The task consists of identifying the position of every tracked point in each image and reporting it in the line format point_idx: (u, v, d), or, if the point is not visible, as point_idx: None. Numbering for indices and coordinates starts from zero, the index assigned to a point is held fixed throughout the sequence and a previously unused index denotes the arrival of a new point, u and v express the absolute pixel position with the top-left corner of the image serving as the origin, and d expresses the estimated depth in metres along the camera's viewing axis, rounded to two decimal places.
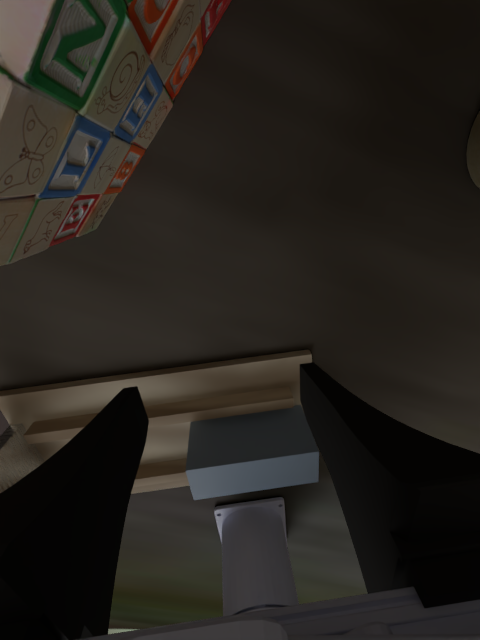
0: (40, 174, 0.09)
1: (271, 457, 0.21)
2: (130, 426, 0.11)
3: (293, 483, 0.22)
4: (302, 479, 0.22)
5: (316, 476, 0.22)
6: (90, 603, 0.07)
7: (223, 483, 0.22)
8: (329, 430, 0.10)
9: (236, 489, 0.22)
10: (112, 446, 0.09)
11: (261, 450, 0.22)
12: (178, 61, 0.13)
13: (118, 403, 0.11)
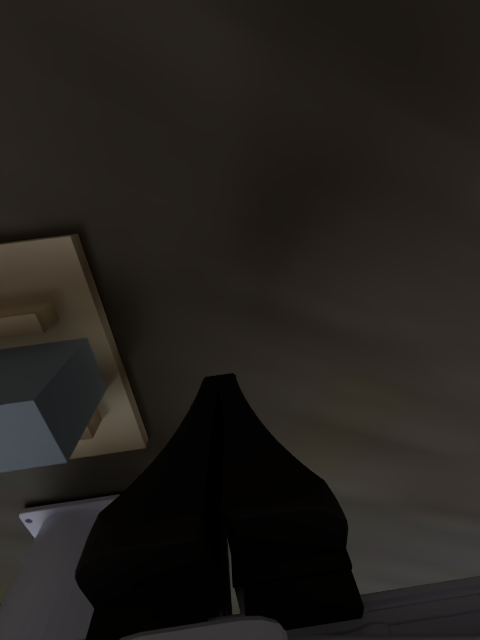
0: None
1: None
2: (220, 414, 0.11)
3: (18, 465, 0.12)
4: (32, 458, 0.12)
5: (57, 452, 0.12)
6: (224, 582, 0.07)
7: None
8: None
9: None
10: (216, 431, 0.10)
11: None
12: None
13: (210, 390, 0.11)
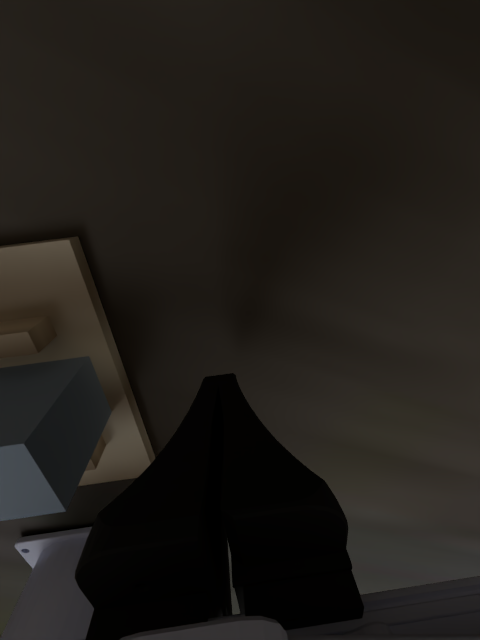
0: None
1: None
2: (220, 414, 0.11)
3: (7, 515, 0.10)
4: (23, 507, 0.10)
5: (53, 500, 0.10)
6: (224, 582, 0.07)
7: None
8: None
9: None
10: (216, 432, 0.10)
11: None
12: None
13: (210, 390, 0.11)
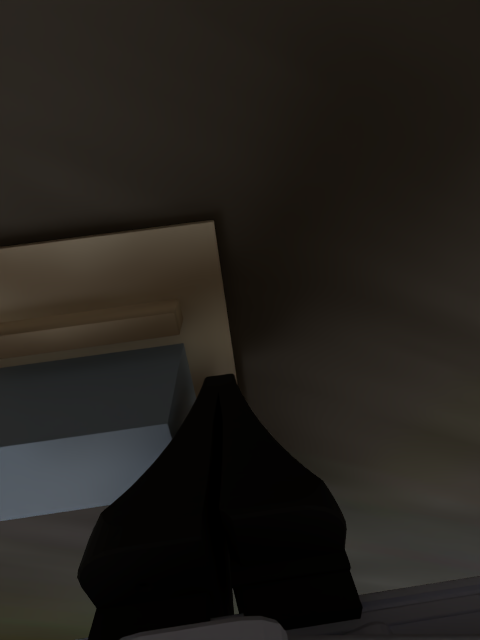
0: None
1: (54, 436, 0.09)
2: (221, 413, 0.11)
3: None
4: None
5: None
6: (226, 582, 0.07)
7: None
8: None
9: (2, 511, 0.10)
10: (217, 431, 0.10)
11: (44, 423, 0.09)
12: None
13: (212, 390, 0.11)
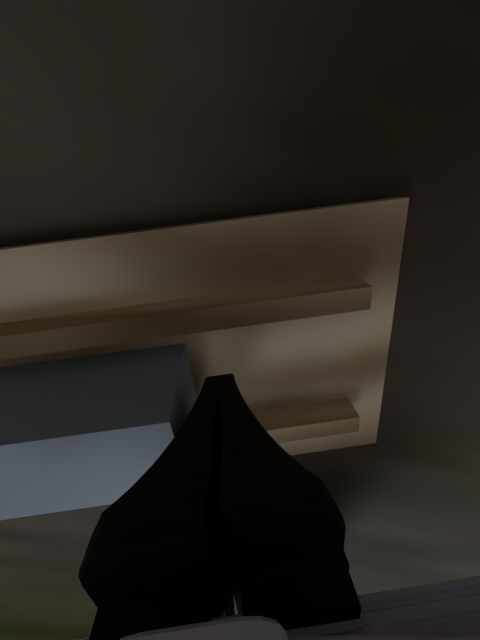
0: None
1: (56, 435, 0.09)
2: None
3: None
4: None
5: None
6: (227, 582, 0.07)
7: None
8: None
9: (3, 509, 0.10)
10: (218, 431, 0.10)
11: (46, 422, 0.09)
12: None
13: (212, 390, 0.11)
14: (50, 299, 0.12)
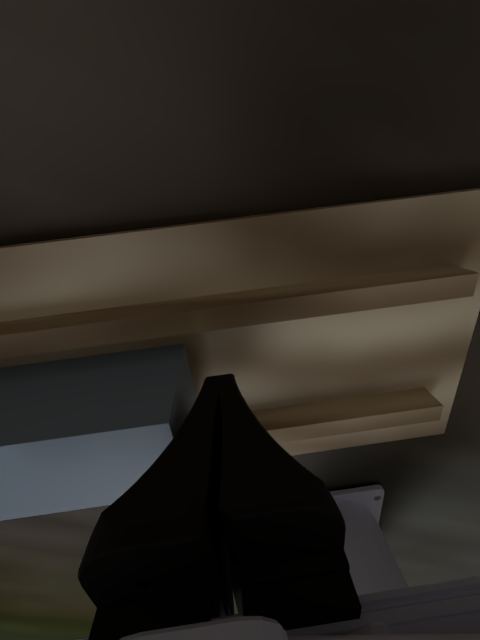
0: None
1: (55, 436, 0.09)
2: None
3: None
4: None
5: None
6: (227, 582, 0.07)
7: None
8: None
9: (3, 510, 0.10)
10: (217, 431, 0.10)
11: (45, 423, 0.09)
12: None
13: (212, 390, 0.11)
14: (153, 285, 0.12)
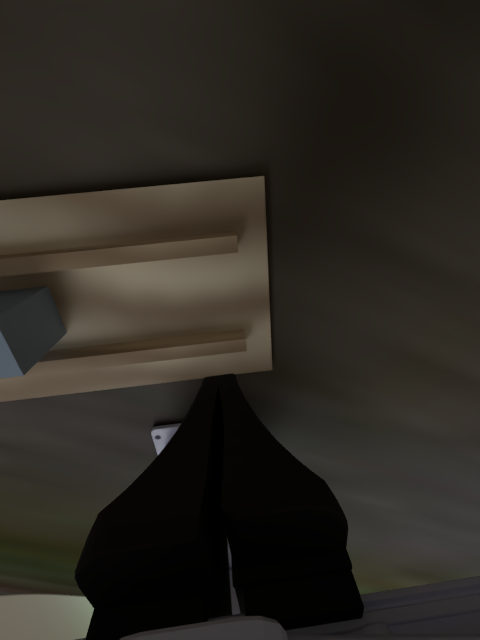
0: None
1: None
2: (220, 414, 0.11)
3: None
4: None
5: (14, 365, 0.15)
6: (225, 582, 0.07)
7: None
8: None
9: None
10: (216, 431, 0.10)
11: None
12: None
13: (210, 390, 0.11)
14: (16, 240, 0.17)
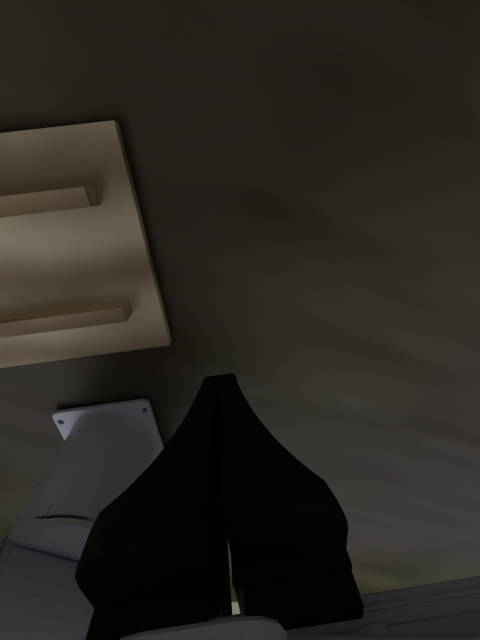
0: None
1: None
2: (220, 414, 0.11)
3: None
4: None
5: None
6: (224, 582, 0.07)
7: None
8: None
9: None
10: (215, 432, 0.10)
11: None
12: None
13: (210, 390, 0.11)
14: None
